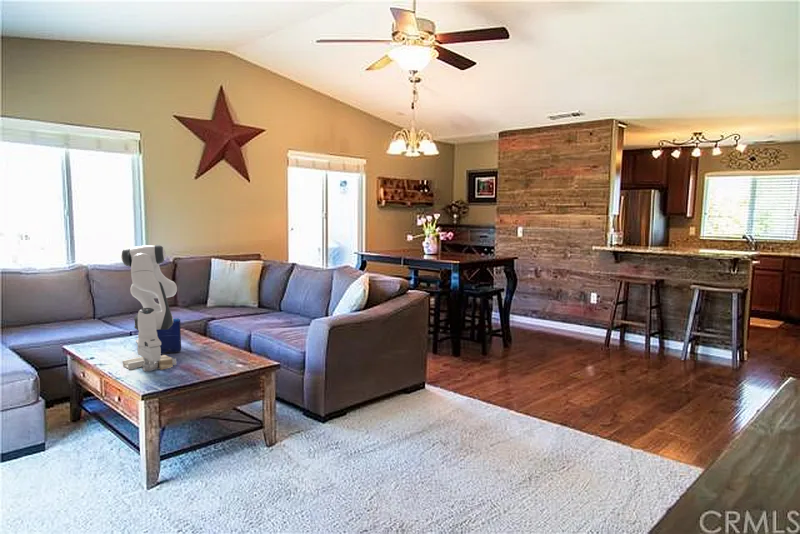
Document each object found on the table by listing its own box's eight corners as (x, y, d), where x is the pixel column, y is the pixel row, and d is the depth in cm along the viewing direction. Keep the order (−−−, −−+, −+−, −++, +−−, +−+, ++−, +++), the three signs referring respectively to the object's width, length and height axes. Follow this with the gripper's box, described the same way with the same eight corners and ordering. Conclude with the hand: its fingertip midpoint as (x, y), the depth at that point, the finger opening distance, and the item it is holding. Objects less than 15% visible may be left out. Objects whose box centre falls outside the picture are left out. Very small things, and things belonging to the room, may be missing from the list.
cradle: (122, 366, 274) (122, 360, 274) (146, 361, 283) (146, 355, 283) (128, 369, 269) (128, 363, 268) (152, 364, 278) (152, 358, 277)
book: (153, 355, 295) (151, 320, 293) (154, 352, 300) (153, 318, 298) (180, 353, 299) (179, 319, 296) (181, 351, 304) (180, 317, 301)
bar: (142, 370, 268) (142, 363, 267) (173, 363, 279) (173, 357, 279) (145, 371, 265) (144, 364, 265) (176, 365, 277) (176, 358, 277)
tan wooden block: (153, 366, 274) (153, 357, 274) (165, 363, 279) (164, 354, 278) (160, 369, 269) (160, 360, 268) (172, 367, 273) (172, 358, 272)
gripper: (133, 337, 271) (134, 363, 273) (149, 345, 258) (151, 372, 259) (146, 335, 276) (147, 361, 278) (162, 342, 262) (163, 369, 264)
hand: (149, 366), depth 268 cm, fingers closed on bar, 3 cm apart
